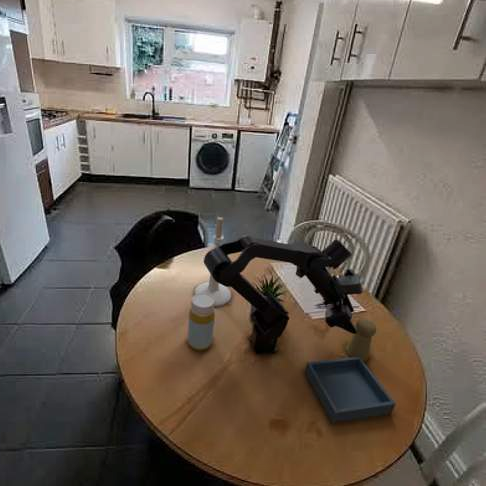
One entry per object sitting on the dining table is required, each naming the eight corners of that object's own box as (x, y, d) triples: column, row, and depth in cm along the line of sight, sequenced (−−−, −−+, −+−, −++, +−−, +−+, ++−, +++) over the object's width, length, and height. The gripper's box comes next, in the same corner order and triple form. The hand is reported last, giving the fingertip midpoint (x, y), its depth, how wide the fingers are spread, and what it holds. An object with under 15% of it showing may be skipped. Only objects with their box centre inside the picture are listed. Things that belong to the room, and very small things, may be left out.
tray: (332, 423, 70) (335, 412, 69) (304, 371, 82) (307, 362, 81) (391, 414, 73) (395, 403, 72) (356, 365, 85) (359, 356, 84)
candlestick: (187, 294, 108) (191, 215, 97) (210, 279, 118) (217, 206, 106) (215, 311, 101) (223, 229, 90) (238, 294, 110) (248, 218, 99)
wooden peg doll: (342, 344, 92) (351, 315, 88) (361, 344, 93) (371, 315, 89) (352, 361, 87) (363, 330, 83) (372, 360, 87) (384, 330, 83)
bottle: (215, 338, 91) (220, 296, 85) (205, 355, 85) (209, 311, 79) (194, 329, 93) (197, 288, 87) (183, 345, 87) (185, 302, 81)
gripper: (351, 286, 74) (388, 335, 75) (346, 250, 90) (376, 291, 92) (310, 303, 79) (346, 349, 80) (312, 267, 95) (342, 305, 97)
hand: (353, 321), depth 87 cm, fingers open, 9 cm apart
